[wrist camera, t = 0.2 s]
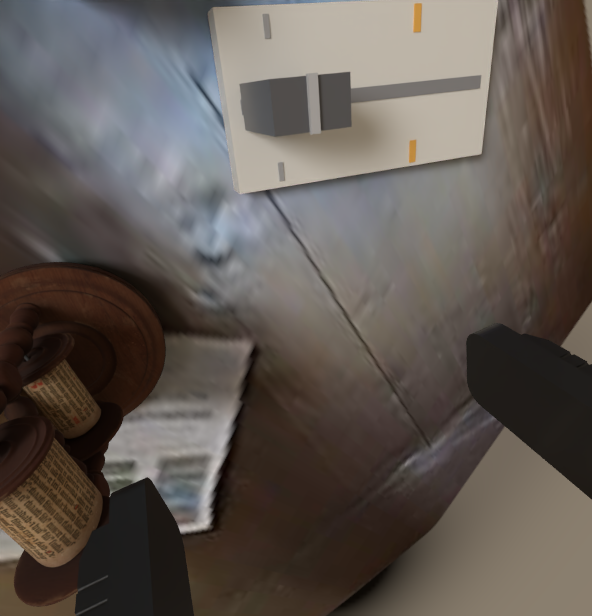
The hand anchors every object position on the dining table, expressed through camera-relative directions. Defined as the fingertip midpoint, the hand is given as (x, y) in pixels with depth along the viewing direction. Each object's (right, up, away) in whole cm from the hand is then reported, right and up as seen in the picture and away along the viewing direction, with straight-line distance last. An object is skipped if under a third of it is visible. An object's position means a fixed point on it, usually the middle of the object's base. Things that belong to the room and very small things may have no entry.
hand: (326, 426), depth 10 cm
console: (+4, +20, +25) cm, 33 cm away
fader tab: (-2, +18, +21) cm, 27 cm away
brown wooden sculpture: (-19, 0, +25) cm, 32 cm away
